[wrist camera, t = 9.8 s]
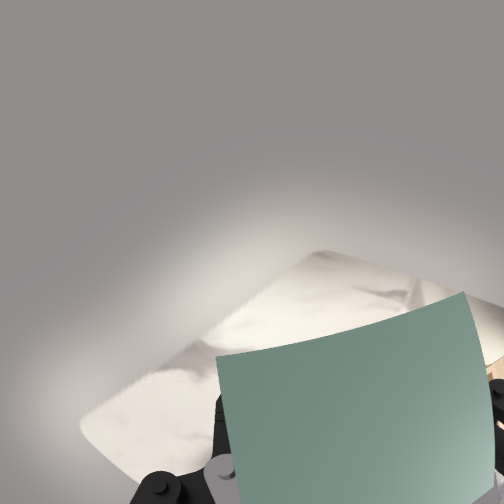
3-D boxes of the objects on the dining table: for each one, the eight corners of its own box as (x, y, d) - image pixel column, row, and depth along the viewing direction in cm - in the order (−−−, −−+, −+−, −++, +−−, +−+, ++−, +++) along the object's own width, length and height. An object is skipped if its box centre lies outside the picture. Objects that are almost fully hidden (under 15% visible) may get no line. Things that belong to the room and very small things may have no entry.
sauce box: (343, 361, 15) (464, 288, 4) (359, 438, 12) (494, 491, 2) (259, 380, 15) (212, 354, 4) (274, 458, 12) (260, 582, 2)
